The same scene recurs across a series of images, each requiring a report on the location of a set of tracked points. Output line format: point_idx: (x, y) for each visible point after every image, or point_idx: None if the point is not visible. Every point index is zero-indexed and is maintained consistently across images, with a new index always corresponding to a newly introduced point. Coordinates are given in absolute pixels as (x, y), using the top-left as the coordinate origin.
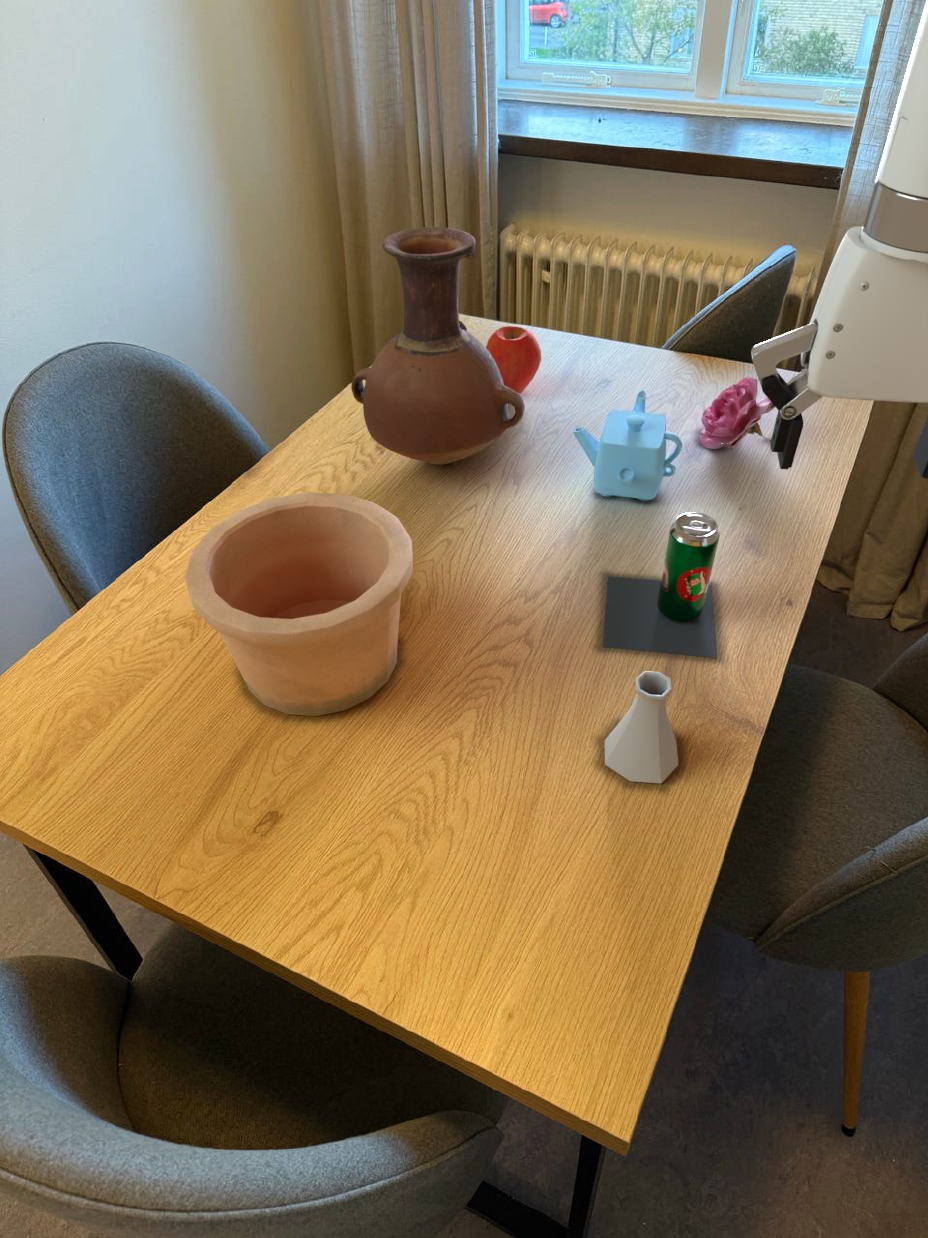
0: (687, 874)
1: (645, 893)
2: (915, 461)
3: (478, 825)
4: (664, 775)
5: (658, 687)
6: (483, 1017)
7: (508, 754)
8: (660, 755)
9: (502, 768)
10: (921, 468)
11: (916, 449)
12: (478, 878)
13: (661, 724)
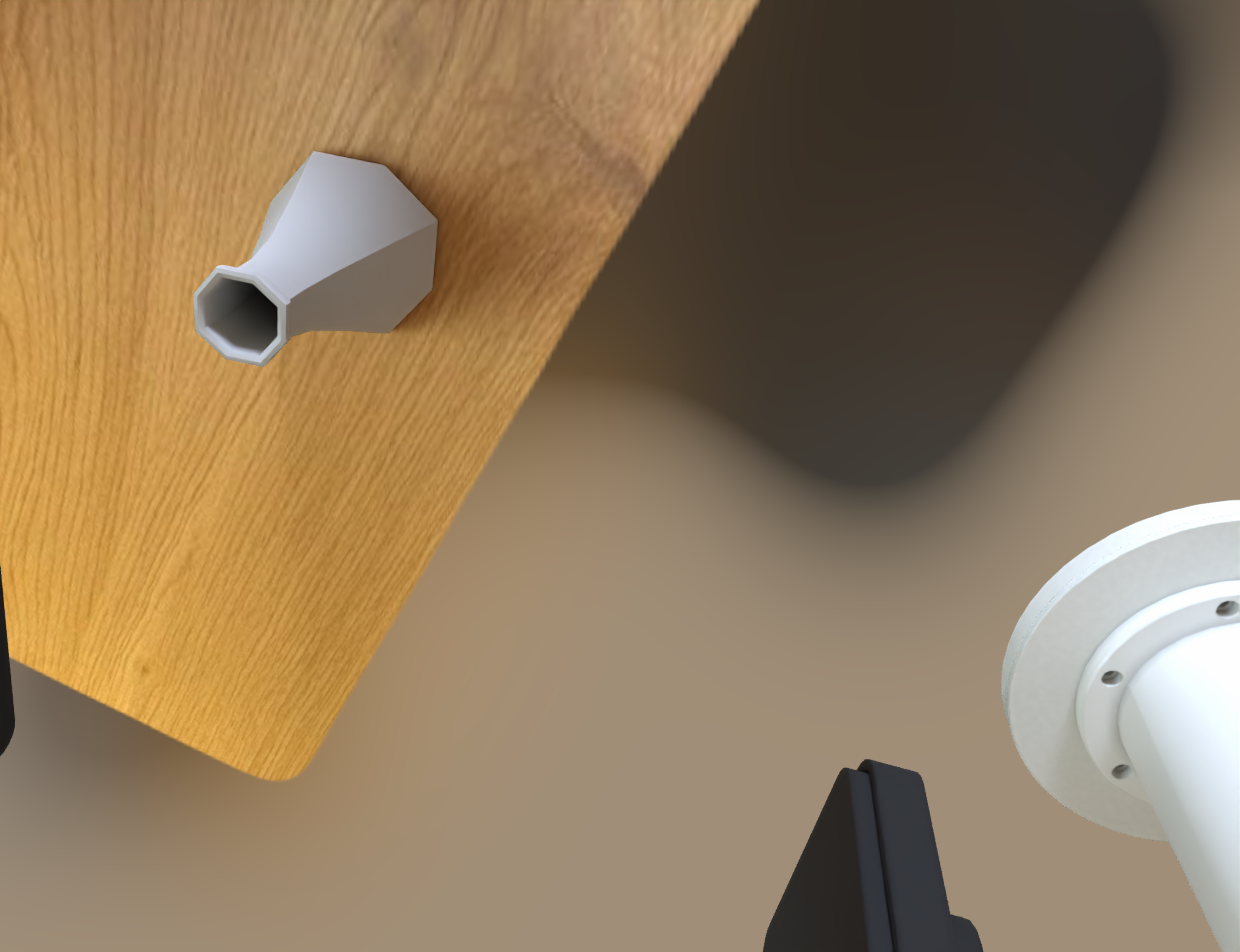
0: (416, 517)
1: (340, 538)
2: (818, 828)
3: (38, 377)
4: (392, 323)
5: (280, 279)
6: (110, 666)
7: (64, 210)
8: (357, 328)
9: (58, 247)
10: (774, 947)
11: (840, 836)
12: (61, 478)
13: (323, 321)
